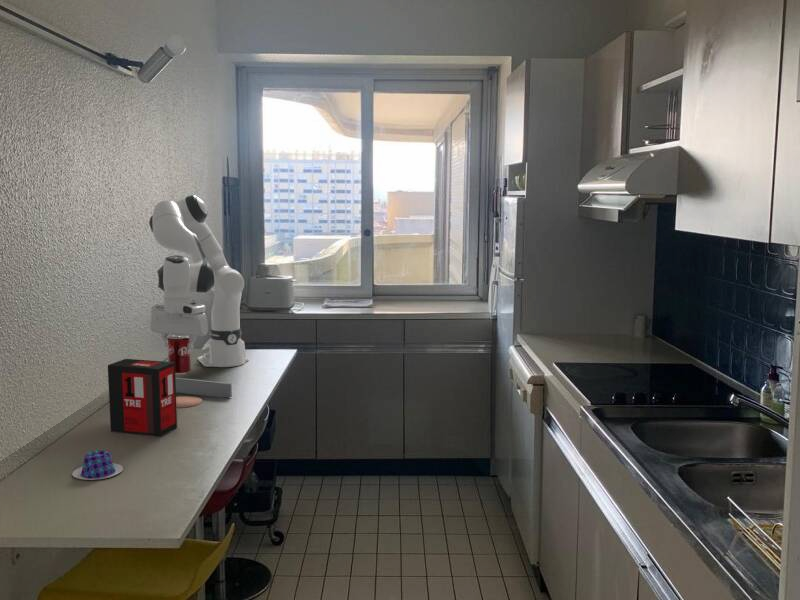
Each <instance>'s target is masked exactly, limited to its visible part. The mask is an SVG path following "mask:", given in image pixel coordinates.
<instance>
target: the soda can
mask: <svg viewBox="0 0 800 600" xmlns="http://www.w3.org/2000/svg"><path fill="white" fill-rule="evenodd" d="M190 340H191V339H189V336H188V335H176V334H171V335H168V339H167V343H168V347H167V362H175V375H186V374H189V373H190V372H191V371H192V349H187V344H188V343H189V342H190Z"/></svg>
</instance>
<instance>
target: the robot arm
mask: <svg viewBox="0 0 800 600" xmlns="http://www.w3.org/2000/svg"><path fill="white" fill-rule="evenodd" d="M207 216H208V210H207V206H206V203H205V202H204V200H202V198H201V197H200V196H198V195H195V194H193V195H192V194H191V195H188V196H186V197H185V198H181V199H179V200H176V201H173V200H169V199H167V200H166V199H165V200H161V201H159V202H158V203H156V204H155V206H154V208H153V212H152V215H151V216H150V218H149V223H148V224H149V227H150V231H151V232H152V233H153V236H154V239H155V241H156V243H157V245H158V244H159V246H161V247H162V248H165V249H168V250H171V251H178V252H181V253H185V254H187V255H189V256H190V257H191V259H192V261H193V263H190V260H189V259H188V257H186V256H183V255H170V256H167V257H165V259H164V261H163V265H162V266H161V267H160V268H159V269H158V270H157V271H156V272H157V276H158V277H157V279H158V284H157V288H159V289H160V290H161V291H162V292H163V293H164V294H163V304H154V305H153V306H152V307H151V309H150V311H151V314H150V316H151V317H150V325H149V326H150V327H149V328H150V331H151V332H152V333H155V334H160V335H161V338H162V340H163V342H164V347H165V348H168V343H167V339H168V337H169V336H170V335H188V336H189V339H190V342H189V343H188V344H187V349H191V350H193V349H195V348H194V347H195V342H196V340H197V339H198V338H197V337H204V336H206V335H207V333H208V331H209V327H208V326H209V325H208V317H207V315H206V313H205V312H206V310H207V309H206V305H205V304H202V303H200V302H197V301H195V300H194V299H192V296H193V295H192V293H200V294H201V293H203V294H204V293H205V294H206V293H208V292H210V290H211V291H213V294H214V295H213V301H212V302H213V304H212V307H211V310H210V313H211V314H210V315H211V317H210V318H211V329H210V332H209V339H208V340H207V341H206V343H204V344H203V347H202V348H201V350H200V351H201V354H203V355H201V356H198V357H197V360H198V362H200V363H201V364H202V366H203V367H208V368H209V367H211V368H212V367H214V368H216V367H217V368H229V367H238V366H242V365H244V364H245V363H246V362H249V358H248V357H247V355H246V346H245V341H244V340H243V339H242V329H241V327H240V326H241V324H240V322H241V321H240V320H241V319H240V318H241V317H240V316H241V315H240V313H241V312H240V311H241V310H240V308H241V302H242V297H243V296H242V295H243V290H244V288H245V279H244V277H243V275H242V274H241V273H240V272H239V271H238V270H236V269H234V268H232V267H230V264H228V262H227V259H226V258H225V257H226V256H225V255H224V252H223V249H222V247H221V245H220V244H219V241H218V240H217V238H216V237H215V235H214V233H213V232H212V230H211V228H210V227H209V225H208V224H207V223H206V222H205V221H206V218H207Z"/></svg>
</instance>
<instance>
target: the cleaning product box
mask: <svg viewBox="0 0 800 600" xmlns="http://www.w3.org/2000/svg"><path fill="white" fill-rule="evenodd" d="M175 377H176V374H175V362H168V361H162V360H160V361H158V360H148V359H147V360H146V359H134V358H124V359H121V360H118V361H115V362H112V363H110V364H107V379H108V381H107V382H108V400H109V402H108V403H109V422H110V425H109V426H110V432H111V433H118V434H127V433H128V435H129V434H130V435H139V436H140V435H141V436H148V437H150V436H151V437H156V438H157V437H158V438H162V437H163V436H165V435H167V434H168V433H170V431H171V432H172V431H174V430H176V429H177V428H178V413H177V412H178V411H177V408H176V397H177V394H176V393H177V392H176V382H175Z"/></svg>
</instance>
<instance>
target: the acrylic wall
mask: <svg viewBox="0 0 800 600" xmlns="http://www.w3.org/2000/svg"><path fill="white" fill-rule="evenodd" d="M175 382H176V393H179V394H189V395H196V396H197V395H198V396H204V395H205V397H213V396H217V397H216V398H222V397H232V398H233V395H232V393H233V392H232V383H231V382H223V381H214V380H202V379H195V378H194V379H193V378H184V377H176V376H175Z"/></svg>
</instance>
